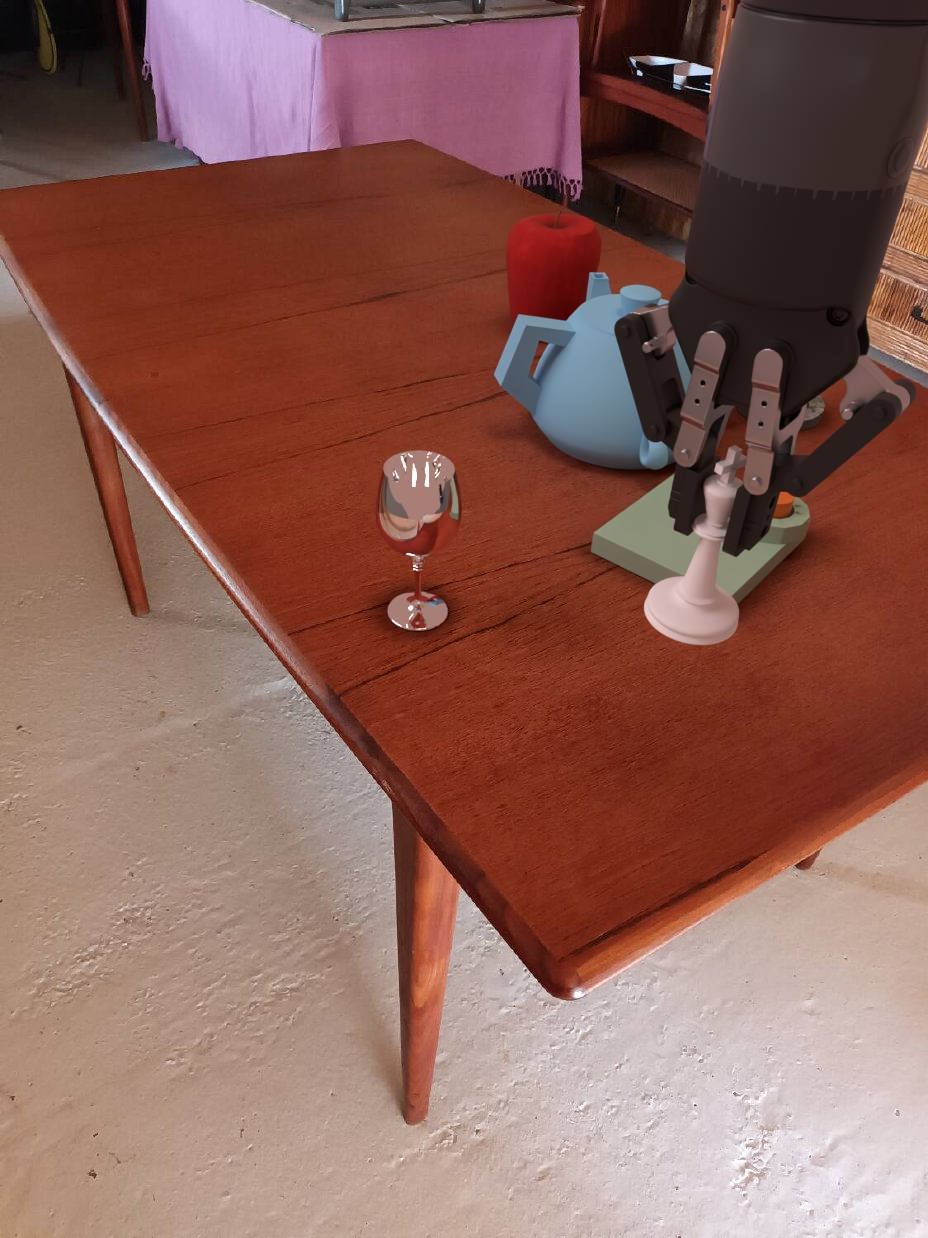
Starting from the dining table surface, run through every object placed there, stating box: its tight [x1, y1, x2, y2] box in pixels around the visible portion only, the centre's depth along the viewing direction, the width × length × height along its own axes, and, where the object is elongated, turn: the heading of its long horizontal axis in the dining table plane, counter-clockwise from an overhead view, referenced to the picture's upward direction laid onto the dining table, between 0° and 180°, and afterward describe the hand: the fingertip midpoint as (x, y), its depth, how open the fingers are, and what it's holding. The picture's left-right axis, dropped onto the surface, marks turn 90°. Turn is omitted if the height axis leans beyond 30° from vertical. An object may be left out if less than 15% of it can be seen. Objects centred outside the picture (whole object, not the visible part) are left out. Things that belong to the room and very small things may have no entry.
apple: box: [505, 208, 603, 323], centre depth 103 cm, size 11×10×14 cm
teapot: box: [493, 272, 691, 471], centre depth 85 cm, size 19×19×14 cm
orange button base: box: [590, 473, 812, 605], centre depth 74 cm, size 12×14×4 cm
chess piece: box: [643, 444, 747, 646], centre depth 45 cm, size 5×5×10 cm
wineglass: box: [375, 449, 463, 632], centre depth 63 cm, size 6×6×12 cm
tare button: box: [773, 492, 795, 519], centre depth 73 cm, size 3×3×2 cm
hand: (712, 535), depth 45 cm, fingers closed on chess piece
